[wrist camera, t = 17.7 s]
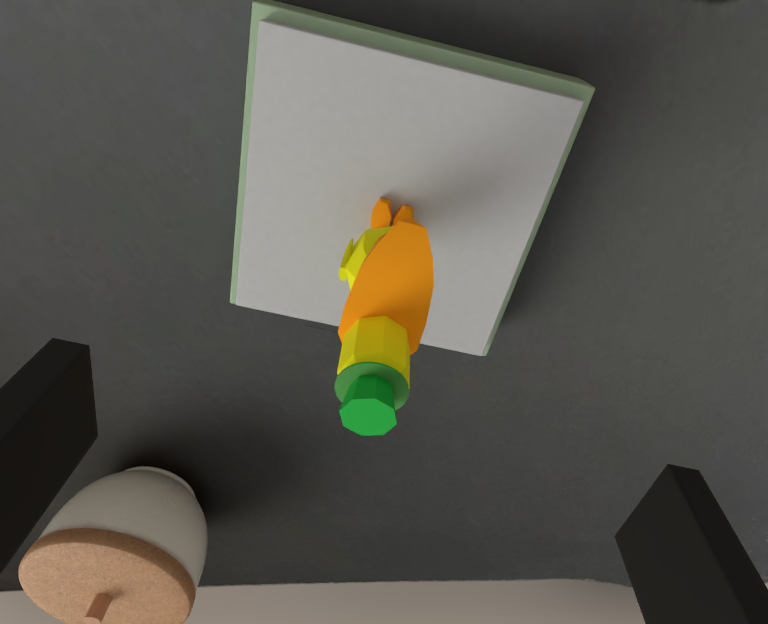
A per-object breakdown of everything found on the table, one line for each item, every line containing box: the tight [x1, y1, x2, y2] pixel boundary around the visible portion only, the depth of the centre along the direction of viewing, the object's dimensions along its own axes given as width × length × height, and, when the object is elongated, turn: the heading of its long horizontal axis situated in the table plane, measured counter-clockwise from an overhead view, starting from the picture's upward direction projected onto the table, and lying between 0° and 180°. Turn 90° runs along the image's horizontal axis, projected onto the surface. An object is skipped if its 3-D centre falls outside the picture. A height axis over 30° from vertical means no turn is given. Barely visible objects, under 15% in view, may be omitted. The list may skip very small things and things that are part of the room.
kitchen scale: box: [230, 0, 595, 356], centre depth 25 cm, size 14×15×3 cm
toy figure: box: [335, 198, 434, 436], centre depth 19 cm, size 7×4×12 cm, turn 166°
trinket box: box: [19, 466, 208, 624], centre depth 36 cm, size 11×11×9 cm
